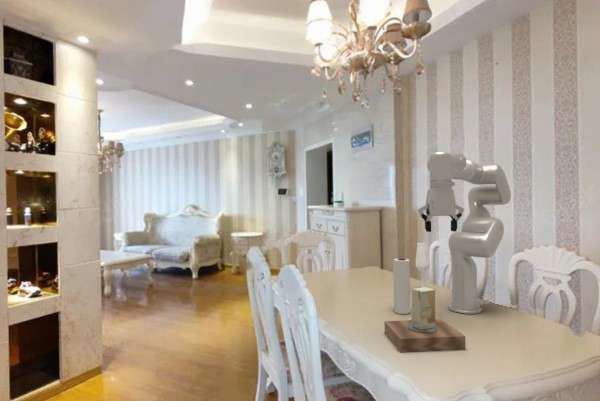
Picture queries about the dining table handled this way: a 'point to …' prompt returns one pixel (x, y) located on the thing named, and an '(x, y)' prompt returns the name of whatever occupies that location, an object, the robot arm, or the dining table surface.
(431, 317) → the skincare box
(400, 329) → the walnut stand
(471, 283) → the robot arm
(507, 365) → the dining table surface
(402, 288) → the paper towel roll
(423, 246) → the champagne flute
